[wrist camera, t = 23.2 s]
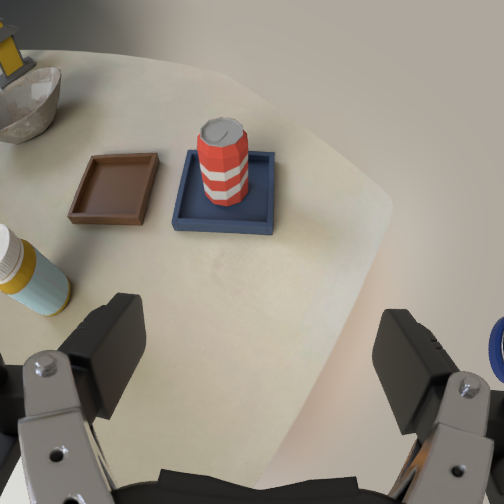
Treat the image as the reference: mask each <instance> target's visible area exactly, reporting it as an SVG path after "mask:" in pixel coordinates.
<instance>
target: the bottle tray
mask: <svg viewBox="0 0 504 504" xmlns="http://www.w3.org/2000/svg"><path fill="white" fill-rule="evenodd" d="M159 162H160V161H159V157H158V154H157V153H134V154H113V155H96V156H91V158H90V161H89V163H88V165H87V167H86V170H85V172H84V175H83V177H82V179H81V182H80V184H79V187H78V189H77V192H76V194H75V197H74V200H73V202H72V205H71V208H70V210H69V213H68V216H67V217H68V218H69V219H70V221H71V222H72V223H73V224H111V225H142V224H143V220H144V216H145V212H146V208H147V204H148V201H149V197H150V193H151V189H152V186H153V182H154V179H155V175H156V172H157V168H158V165H159Z"/></svg>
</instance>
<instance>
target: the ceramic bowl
mask: <svg viewBox="0 0 504 504" xmlns="http://www.w3.org/2000/svg"><path fill="white" fill-rule="evenodd" d="M60 81H61V70H60V69H58V68H55V67H46V68H41V69H38V70H34V71H31V72H29V73H27V74H26V76H25V75H23V76H22V77H21V78H19V79H17V80H16V81H14V82H12V83H11V84H10V85H8V86H7V87H6V88H5V89H3V90H2V91H1V92H0V141H2V142H6V143H13V144H19V143H22V142H25V141H27V140H29V139H31V138H33V137H35V136H37V135H39V134H41V133H42V132H44V131H45V130H46V128H47V127H48V126H49V125H50V124H51V122H52V121H53V119H54V117H55V113H56V110H57V102H58V99H59V92H60Z"/></svg>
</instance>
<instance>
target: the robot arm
mask: <svg viewBox="0 0 504 504" xmlns="http://www.w3.org/2000/svg"><path fill="white" fill-rule="evenodd" d="M145 346H146V330H145V323H144V314H143V306H142V299H141V297H140V295H136V294H127V293H117V294H116V295H115V296H114V297H113V298H112V299H111V300H110V301H109V303H108V304H107V305H102V306H100V307H99V308H97V309H95V310H93V311H91V312H90V313H89V314H88V316H87V317H86V318H85V319H84V320H83V322H81V323H80V324H79V326H78V327H77V329H75V330H74V331H73V332H72V333H71V335H70V336H69V337H68V338H67V339H66V340H65V341H64V343H63V344H62V345H61V346H60V347H59V348H58V350H57V351H56V350H45V351H41V352H38V353H36V354H34V355H32V356H31V357H29V358H28V359H27V360H26V362H25V363H24V365H5V363H4V361H3V358H2V356H1V354H0V496H1V494H2V492H3V490H4V488H5V486H6V484H7V482H8V480H9V478H10V476H11V474H12V472H13V470H14V468H15V466H16V464H17V462H18V460H19V458H20V456H21V457H22V463H23V469H24V475H25V480H26V485H27V490H28V494H29V499H30V503H31V504H482V503H483V499H484V495H485V492H486V494H487V497H488V500H489V503H490V504H504V391H496V390H490V387H489V385H488V384H487V382H486V381H485V380H484V379H483V378H481V377H479V376H478V375H476V374H474V373H471V372H465V371H460V370H459V369H458V368H457V366H456V365H455V363H454V362H453V361H452V359H451V358H450V356H449V355H448V354H447V352H446V351H445V350H444V349H443V347H442V346H441V344H440V343H439V342H437V339H436V338H435V336H434V335H433V334H432V332H431V331H430V330H429V329H427V328H426V327H424V326H423V325H421V324H420V323H417V322H416V320H415V319H414V318H413V316H412V315H411V314H410V312H409V311H408V310H407V309H386V310H384V312H383V314H382V317H381V321H380V325H379V329H378V332H377V337H376V339H375V343H374V347H373V352H372V360H373V365H374V368H375V370H376V373H377V375H378V377H379V380H380V382H381V384H382V387H383V389H384V391H385V394H386V396H387V399H388V401H389V404H390V406H391V409H392V411H393V413H394V416H395V418H396V421H397V424H398V426H399V429H400V431H401V434H402V435H405V434H412V433H416V434H417V436H418V437H417V439H416V441H415V443H414V444H413V446H412V449H411V451H410V453H409V456H408V458H407V460H406V462H405V464H404V466H403V468H402V470H401V472H400V474H399V476H398V478H397V480H396V482H395V484H394V486H393V487H392V489H391V491H390V493H389V494H388V495H385V494H382V493H379V492H375V491H370V490H366V489H359V488H358V483H357V478H356V477H355V476H354V477H344V478H332V479H317V480H316V479H315V480H307V481H303V482H299V483H295V484H290V485H285V486H281V487H275V488H270V489H265V490H256V489H252V488H248V487H244V486H240V485H237V484H233V483H230V482H226V481H223V480H220V479H217V478H213V477H210V476H205V475H197V474H190V473H183V472H176V471H171V470H165V469H161V471H160V475H159V478H158V481H147V482H139V483H134V484H130V485H126V486H123V487H120V488H119V487H118V485H117V483H116V481H115V479H114V477H113V474H112V472H111V470H110V468H109V465H108V463H107V460H106V458H105V455H104V453H103V450H102V448H101V445H100V442H99V440H98V437H97V434H96V432H95V429H94V426H93V424H92V423H93V421H94V420H95V418H96V417H100V418H104V419H108V420H110V418H111V416H112V414H113V412H114V410H115V408H116V406H117V404H118V402H119V400H120V398H121V396H122V394H123V392H124V390H125V388H126V386H127V384H128V382H129V380H130V378H131V376H132V374H133V372H134V370H135V368H136V367H137V365H138V363H139V361H140V359H141V357H142V355H143V353H144V350H145ZM500 354H501V358H502V362H503V364H504V329H503V332H502V335H501V340H500Z"/></svg>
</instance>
